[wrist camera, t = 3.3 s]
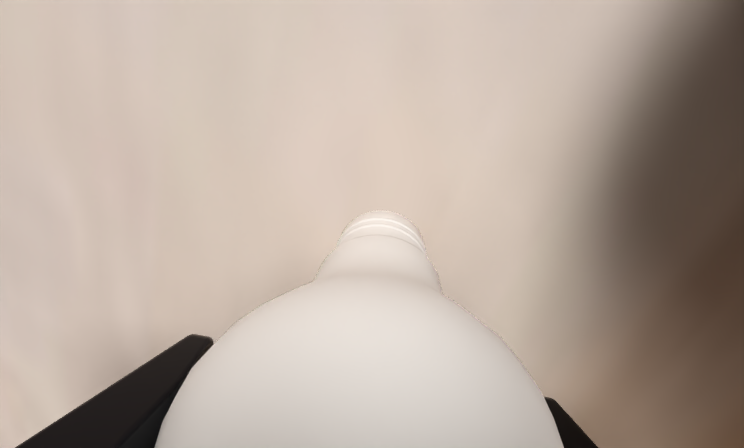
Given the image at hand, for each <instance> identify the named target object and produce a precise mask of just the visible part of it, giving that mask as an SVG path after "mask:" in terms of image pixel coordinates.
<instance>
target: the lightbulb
mask: <svg viewBox="0 0 744 448" xmlns="http://www.w3.org/2000/svg"><path fill="white" fill-rule="evenodd" d="M154 448H564V446H563V443H562V441H561V438H560V435H559V432H558V429H557V426H556V423H555V420H554V418H553V416H552V413H551V411H550V409H549V407H548V405H547V403H546V401H545V398H544V396H543V394H542V392H541V390H540V389H539V387H538V386H537V384H536V383H535V381H534V380H533V378H532V377H531V375H530V374H529V372H528V371H527V370H526V368H525V367H524V365H523V364H522V362H521V361H520V360H519V358H518V357H517V356H516V355H515V353H514V352H513V351H512V350H511V349H510V347H509V346H508V345H507V344H506V342H505V341H504V340H503V339H502V338H501V337H500V336H499V335H498V334H496V333H495V332H494V331H493V330H491V329H490V328H489V327H488V326H486V325H485V324H484V323H482V322H481V321H480V320H479V319H477V318H476V317H475V316H474V315H472V314H471V313H470V312H468V311H467V310H466V309H464V308H463V307H462V306H460V305H459V304H458V303H456V302H455V301H454V300H452V299H450V298H449V297H447V296H445V295H444V294H443V292H442V289H441V285H440V281H439V277H438V273H437V271H436V270H435V268H434V266H433V264H432V263H431V261H430V260H429V259H428V256H427V252H426V248H425V245H424V241H423V237H422V235H421V233H420V231H419V229H418V228H417V227H416V226H415V224H414V223H413V222H411V221H410V220H409V219H408V218H406V217H404V216H402V215H401V214H398V213H395V212H392V211H385V210H377V211H370V212H366V213H364V214H361V215H359V216H357V217H356V218H354V219H353V220H352V221H351V222H350V223H349V224H348V225H347V226H346V227H345V229H344V231H343V232H342V234H341V237H340V238H339V240H338V242H337V245H336V247H335V249H334V250H333V251H332V252H331V253H330V254H329V255H328V256H327V257H326V258H325V260H324V261H323V263H322V264H321V266H320V268H319V270H318V272H317V275H316V277H315V279H314V280H313V282H310V283H308V284H305V285H303V286H301V287H298V288H296V289H293V290H291V291H289V292H287V293H285V294H282V295H280V296H278V297H276V298H274V299H272V300H270V301H268V302H266V303H264V304H262V305H260V306H259V307H257V308H256V309H254V310H253V311H252V312H250V313H249V314H247V315H246V316H244V317H243V318H241V319H240V320H238V321H237V322H235V323H234V324H233V325H232V326H231V327H230V328H229V329H228V330H227V331H226V332H225V333H224V335H223V336H222V337H221V338H220V339H219V340H218V341H217V342H216V343H215V344H214V345H213V346H212V347H211V348H210V349H209V350H208V351H207V352H206V353H205V354H204V355H203V356H202V357H201V359H200V360H199V361H198V362H197V363H196V364H195V365H194V366H193V367H192V368H191V370H190V372H189V374H188V375H187V377H186V379H185V381H184V382H183V384H182V386H181V388H180V389H179V391H178V393H177V395H176V396H175V398H174V400H173V402H172V404H171V406H170V408H169V410H168V412H167V414H166V416H165V418H164V420H163V422H162V424H161V428H160V431H159V434H158V437H157V441H156V444H155V447H154Z"/></svg>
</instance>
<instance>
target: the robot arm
mask: <svg viewBox="0 0 744 448" xmlns="http://www.w3.org/2000/svg"><path fill="white" fill-rule="evenodd" d="M212 346H213V339H212V338H210V337H207V336H201V335H196V334H191V335H189V336H187V337H185V338H184V339H182V340H181V341H179V342H178V343H176V344H174V345H173V346H171V347H170V348H168V349H167V350H165V351H164V352H162V353H161V354H159V355H157V356H156V357H154V358H153V359H151V360H150V361H148V362H147V363H145V364H144V365H142V366H140V367H139V368H137V369H136V370H134V371H133V372H131V373H130V374H128V375H127V376H125V377H123V378H122V379H120V380H119V381H117V382H116V383H114V384H113V385H111V386H110V387H108V388H107V389H105V390H103V391H102V392H100V393H99V394H97V395H96V396H94V397H93V398H91V399H90V400H88V401H86V402H85V403H83V404H82V405H80V406H79V407H77V408H76V409H74V410H73V411H71V412H69V413H68V414H66V415H65V416H63V417H62V418H60V419H59V420H57V421H56V422H54V423H52V424H51V425H49V426H48V427H46V428H45V429H43V430H42V431H40V432H39V433H37V434H35V435H34V436H32V437H31V438H29V439H28V440H26V441H25V442H23V443H22V444H20V445H18V446H17V447H15V448H154V447H155V444H156V441H157V437H158V434H159V431H160V428H161V424H162V422H163V420H164V418H165V416H166V414H167V412H168V410H169V408H170V406H171V404H172V402H173V400H174V398H175V396H176V395H177V393H178V391H179V389H180V388H181V386H182V384H183V382H184V381H185V379H186V377H187V375H188V374H189V372H190V370H191V368H192V367H193V366H194V365H195V364H196V363H197V362H198V361H199V360H200V359H201V357H202V356H203V355H204V354H205V353H206V352H207V351H208V350H209V349H210V348H211V347H212ZM544 398H545V401H546V403H547V405H548V407H549V409H550V411H551V413H552V416H553V418H554V420H555V423H556V426H557V429H558V432H559V435H560V438H561V441H562V443H563V446H564V448H598V447H597V446H596V445H595V444H594V443H593V441H592V440H591V439H590V438H589V437H588V436H587V435H586V434H585V433H584V432H583V430H582V429H581V428H580V427H579V426H578V425H577V424H576V423H575V422H574V421H573V419H572V418H571V417H570V416H569V415H568V414H567V413H566V412H565V411H564V410H563V408H562V407H561V406H560V405H559V404H558V403H557V402H556V401H555V400H554V399H552V398H548V397H544Z"/></svg>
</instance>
